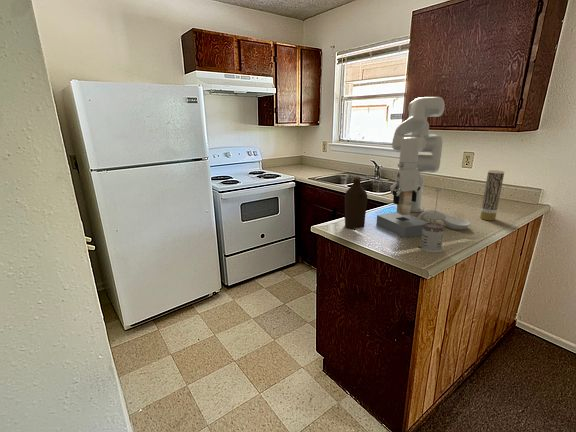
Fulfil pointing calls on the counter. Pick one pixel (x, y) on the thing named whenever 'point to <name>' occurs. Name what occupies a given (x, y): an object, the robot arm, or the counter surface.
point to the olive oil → (355, 205)
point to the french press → (431, 238)
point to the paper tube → (492, 194)
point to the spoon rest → (450, 221)
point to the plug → (404, 203)
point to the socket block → (401, 224)
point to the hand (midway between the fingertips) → (404, 202)
